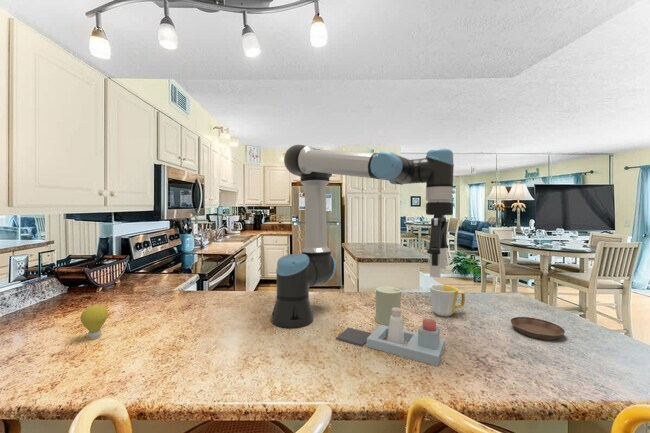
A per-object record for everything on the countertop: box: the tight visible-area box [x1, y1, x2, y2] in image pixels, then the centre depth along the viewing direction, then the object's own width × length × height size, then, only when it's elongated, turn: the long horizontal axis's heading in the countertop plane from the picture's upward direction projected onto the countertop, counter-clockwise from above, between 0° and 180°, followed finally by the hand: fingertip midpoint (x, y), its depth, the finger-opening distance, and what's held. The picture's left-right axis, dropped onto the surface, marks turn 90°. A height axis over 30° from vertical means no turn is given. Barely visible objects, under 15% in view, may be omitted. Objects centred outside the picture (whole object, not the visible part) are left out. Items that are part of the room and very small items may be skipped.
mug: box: [429, 283, 466, 317], centre depth 113 cm, size 14×10×10 cm
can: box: [374, 285, 402, 326], centre depth 105 cm, size 9×9×12 cm
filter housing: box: [366, 323, 446, 367], centre depth 85 cm, size 20×12×7 cm, turn 60°
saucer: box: [510, 316, 566, 341], centre depth 97 cm, size 15×15×3 cm
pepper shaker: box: [386, 307, 406, 345], centre depth 87 cm, size 5×5×11 cm
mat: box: [335, 327, 373, 347], centre depth 91 cm, size 9×9×1 cm
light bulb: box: [79, 304, 109, 340], centre depth 89 cm, size 7×7×10 cm
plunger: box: [422, 318, 437, 331], centre depth 82 cm, size 4×4×2 cm
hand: (438, 272), depth 87 cm, fingers open, 13 cm apart
